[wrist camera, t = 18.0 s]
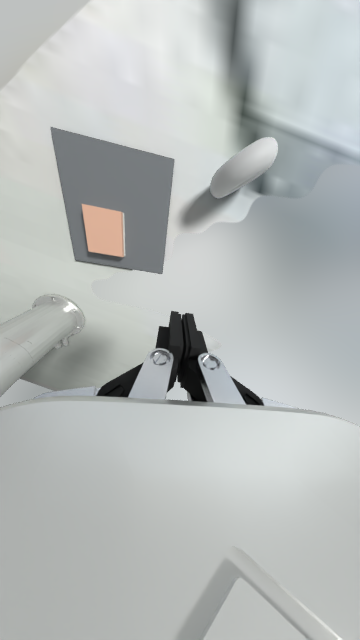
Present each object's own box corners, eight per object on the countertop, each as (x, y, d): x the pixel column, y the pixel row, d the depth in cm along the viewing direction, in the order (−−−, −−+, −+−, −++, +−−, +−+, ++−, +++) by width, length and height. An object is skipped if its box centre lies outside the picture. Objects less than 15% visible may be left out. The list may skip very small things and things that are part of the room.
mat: (162, 273, 35) (162, 274, 35) (76, 259, 33) (75, 259, 32) (174, 160, 25) (174, 159, 25) (53, 129, 23) (50, 126, 22)
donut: (254, 155, 25) (295, 112, 17) (257, 179, 27) (296, 151, 18) (202, 186, 27) (215, 162, 19) (208, 207, 29) (223, 193, 20)
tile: (122, 257, 31) (88, 251, 30) (125, 256, 32) (93, 250, 31) (120, 211, 27) (81, 203, 26) (124, 213, 28) (87, 205, 28)
